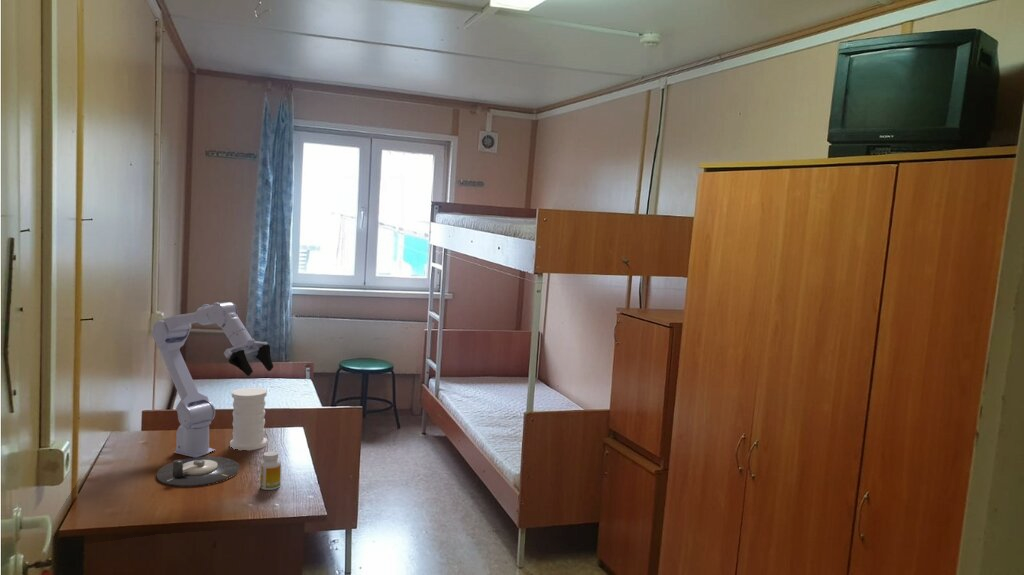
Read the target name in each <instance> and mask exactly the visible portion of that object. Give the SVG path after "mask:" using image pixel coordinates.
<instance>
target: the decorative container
mask: <svg viewBox="0 0 1024 575" xmlns="http://www.w3.org/2000/svg"><path fill="white" fill-rule="evenodd" d="M266 397H267V389H265V388H262V387H242V388H238V389H234V390H232V391H231V398H232V399H233V402H232V407H233V411H232V417H233V420H232V427H233V430H232V433H231V434H232V436H233V437H232V439H231V440H230V441H229V447H230V448H231V447H232V448H233V449H232V448H231V449H232V450H235V449H238V450H237V451H242V450H247V451H255V450H256V451H257V450H260V449H263V448H265V447H266V446H268V439H267V437H265V434H266V429H265V424H266V419H265V415H266V409H265V406H266V400H265V398H266Z"/></svg>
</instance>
